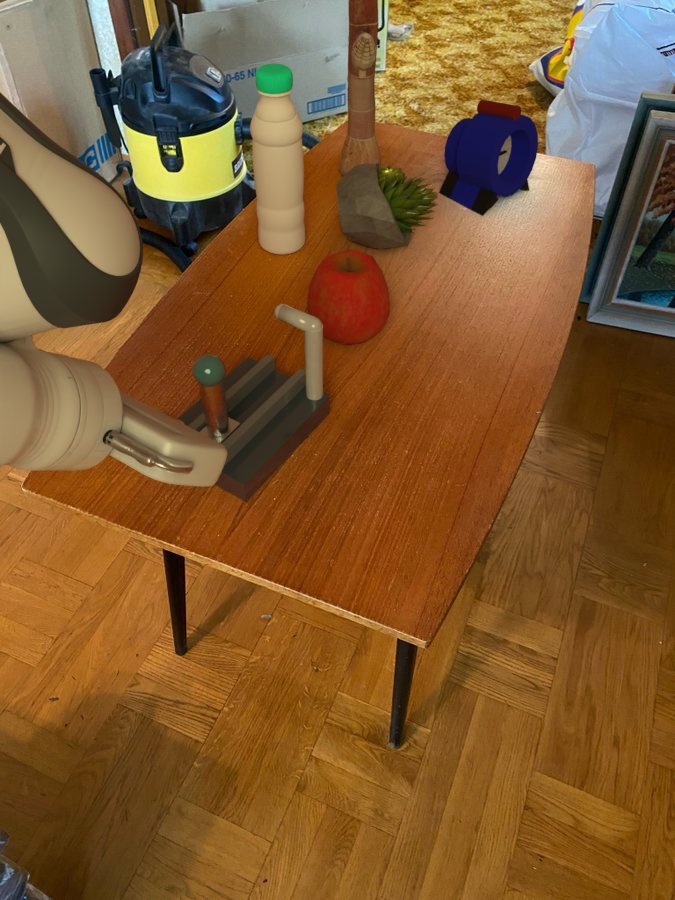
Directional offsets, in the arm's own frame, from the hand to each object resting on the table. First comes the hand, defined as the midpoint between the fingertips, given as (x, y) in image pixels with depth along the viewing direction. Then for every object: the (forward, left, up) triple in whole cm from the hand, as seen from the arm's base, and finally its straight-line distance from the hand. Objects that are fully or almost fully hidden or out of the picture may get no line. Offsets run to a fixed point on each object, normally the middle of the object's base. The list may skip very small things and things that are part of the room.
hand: (170, 424), depth 68 cm
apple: (-1, +34, -11) cm, 35 cm away
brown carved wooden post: (-22, +70, -11) cm, 74 cm away
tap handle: (0, +6, -8) cm, 10 cm away
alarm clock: (-2, +77, -11) cm, 78 cm away
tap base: (0, +11, -11) cm, 15 cm away
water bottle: (-20, +45, -11) cm, 50 cm away
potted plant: (-8, +55, -11) cm, 56 cm away
